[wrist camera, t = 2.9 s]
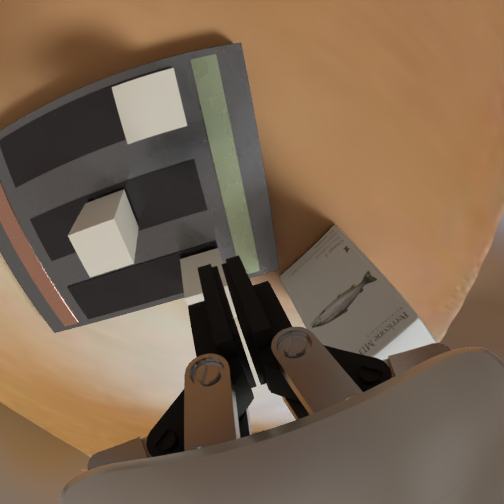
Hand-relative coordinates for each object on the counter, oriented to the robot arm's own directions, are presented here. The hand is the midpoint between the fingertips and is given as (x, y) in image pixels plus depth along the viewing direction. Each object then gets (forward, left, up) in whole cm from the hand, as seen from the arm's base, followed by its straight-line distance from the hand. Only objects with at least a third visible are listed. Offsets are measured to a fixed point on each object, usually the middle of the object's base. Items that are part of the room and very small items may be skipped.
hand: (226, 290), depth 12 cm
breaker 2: (-7, -1, -10) cm, 12 cm away
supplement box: (+11, +10, -12) cm, 19 cm away
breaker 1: (-1, -6, -10) cm, 12 cm away
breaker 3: (+6, -1, -10) cm, 12 cm away
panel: (-1, -6, -12) cm, 13 cm away
